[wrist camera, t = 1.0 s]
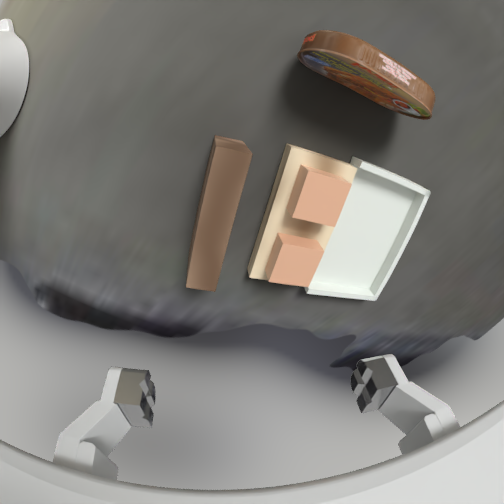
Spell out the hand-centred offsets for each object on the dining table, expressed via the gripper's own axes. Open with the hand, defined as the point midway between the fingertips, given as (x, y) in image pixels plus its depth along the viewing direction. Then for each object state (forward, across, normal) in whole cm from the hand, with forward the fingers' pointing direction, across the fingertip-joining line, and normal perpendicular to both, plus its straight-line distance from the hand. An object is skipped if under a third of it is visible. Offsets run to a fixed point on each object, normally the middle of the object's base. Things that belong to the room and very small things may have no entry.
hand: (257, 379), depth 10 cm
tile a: (+22, -9, -1) cm, 23 cm away
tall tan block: (+24, +2, +1) cm, 24 cm away
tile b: (+22, -7, +7) cm, 24 cm away
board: (+24, -8, +3) cm, 25 cm away
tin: (+24, -12, -14) cm, 30 cm away
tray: (+24, -18, +5) cm, 30 cm away
